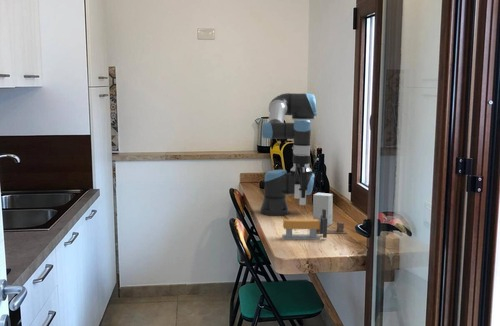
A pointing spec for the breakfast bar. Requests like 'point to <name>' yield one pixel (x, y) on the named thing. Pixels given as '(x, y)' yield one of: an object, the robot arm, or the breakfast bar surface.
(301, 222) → the orange tapered block
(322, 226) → the grey gate frame
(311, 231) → the clip mount
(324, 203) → the skincare box
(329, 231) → the rest
